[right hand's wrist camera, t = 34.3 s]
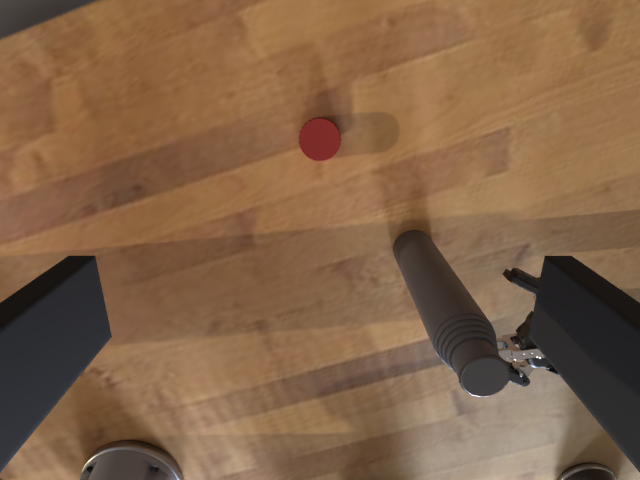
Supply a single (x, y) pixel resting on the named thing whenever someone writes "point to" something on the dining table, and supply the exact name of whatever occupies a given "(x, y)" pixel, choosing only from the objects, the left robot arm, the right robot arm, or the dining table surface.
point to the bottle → (451, 316)
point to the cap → (319, 139)
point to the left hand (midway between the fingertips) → (484, 304)
